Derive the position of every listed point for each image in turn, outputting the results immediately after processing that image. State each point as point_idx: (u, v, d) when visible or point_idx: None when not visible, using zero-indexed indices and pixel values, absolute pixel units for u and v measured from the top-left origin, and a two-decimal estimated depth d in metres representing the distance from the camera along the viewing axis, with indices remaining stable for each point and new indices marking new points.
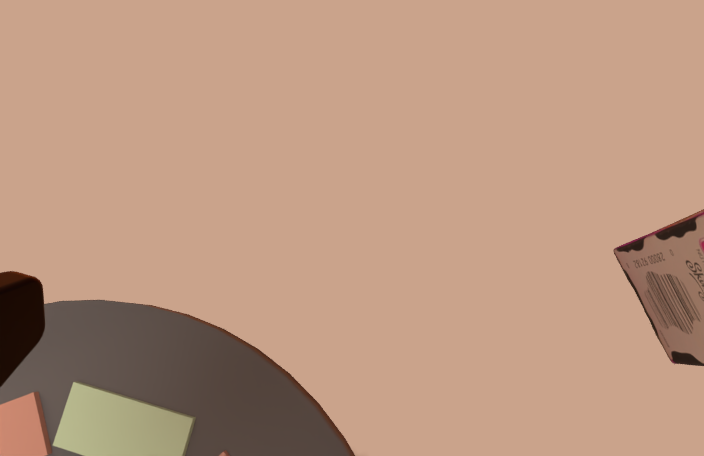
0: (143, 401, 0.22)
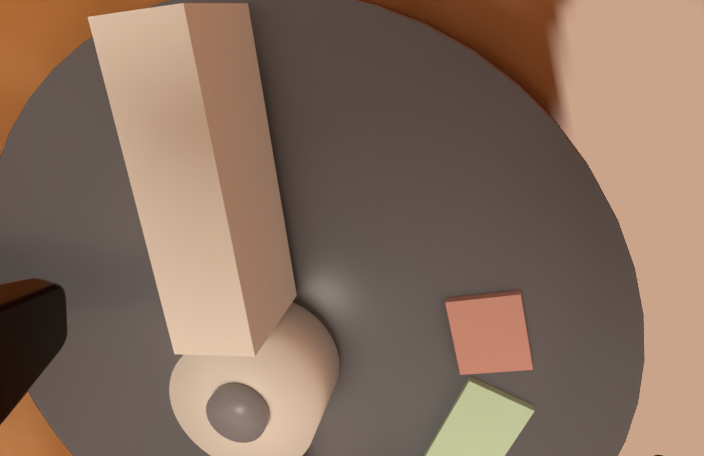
0: None
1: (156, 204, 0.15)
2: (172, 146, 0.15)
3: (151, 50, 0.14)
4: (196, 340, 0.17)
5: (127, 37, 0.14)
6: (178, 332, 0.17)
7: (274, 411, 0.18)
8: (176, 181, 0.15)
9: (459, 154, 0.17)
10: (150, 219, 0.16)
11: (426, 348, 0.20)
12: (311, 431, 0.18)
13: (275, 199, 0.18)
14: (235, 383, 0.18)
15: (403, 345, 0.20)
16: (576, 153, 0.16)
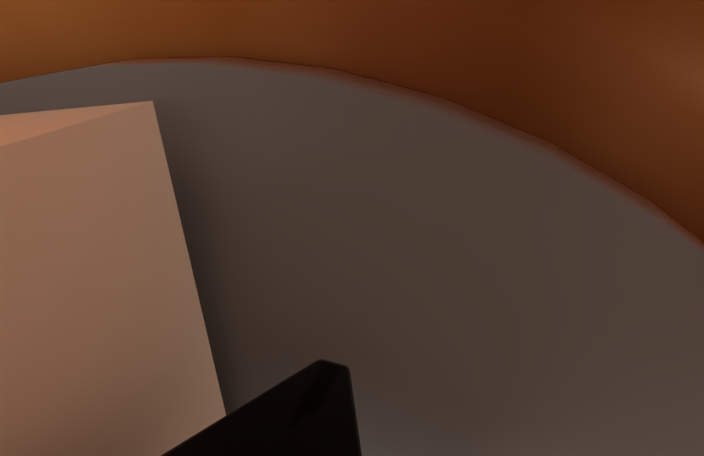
0: None
1: None
2: None
3: None
4: None
5: None
6: None
7: None
8: None
9: (612, 418, 0.08)
10: None
11: None
12: None
13: None
14: None
15: None
16: None
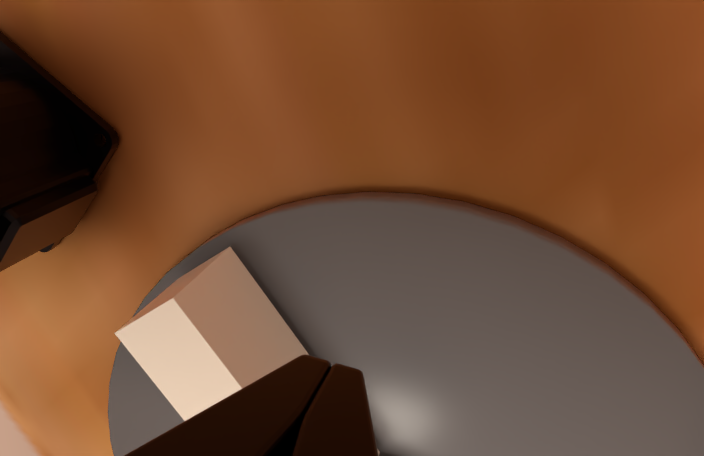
0: None
1: None
2: (213, 400, 0.17)
3: (167, 338, 0.17)
4: None
5: (146, 336, 0.17)
6: None
7: None
8: None
9: None
10: None
11: None
12: None
13: None
14: None
15: None
16: None
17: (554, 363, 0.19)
